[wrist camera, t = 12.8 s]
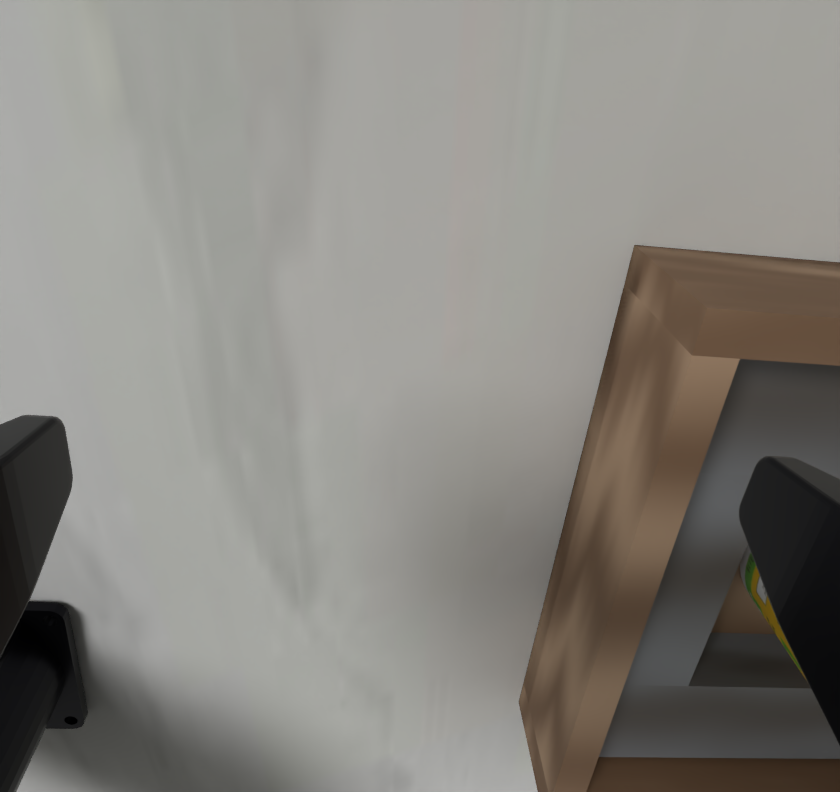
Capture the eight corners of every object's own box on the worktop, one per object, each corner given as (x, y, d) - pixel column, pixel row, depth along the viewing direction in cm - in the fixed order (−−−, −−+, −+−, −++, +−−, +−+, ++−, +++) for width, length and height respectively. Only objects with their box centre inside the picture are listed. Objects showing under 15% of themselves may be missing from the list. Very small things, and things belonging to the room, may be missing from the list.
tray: (906, 708, 31) (992, 820, 27) (518, 702, 30) (544, 820, 25) (1178, 291, 22) (1379, 359, 18) (634, 245, 20) (707, 308, 16)
